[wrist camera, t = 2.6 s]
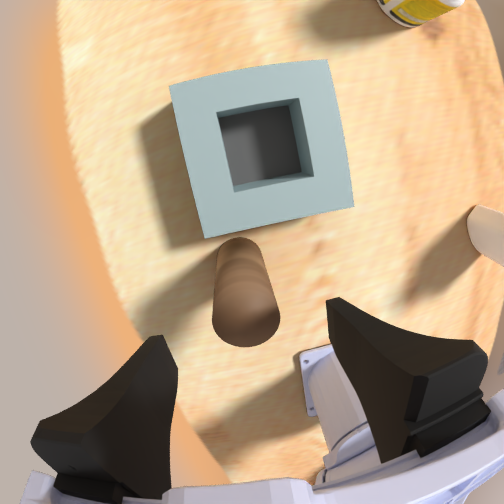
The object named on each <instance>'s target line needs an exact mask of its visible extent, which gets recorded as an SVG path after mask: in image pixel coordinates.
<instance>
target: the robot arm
mask: <svg viewBox="0 0 504 504" xmlns="http://www.w3.org/2000/svg"><path fill="white" fill-rule="evenodd" d="M326 309H327V320H328V332H329V339H330V342H331V344H330V345H327V346H323V347H319V348H316V349H312V350H308V351H304V352H302V353H300V355H299V359H300V366H301V373H302V379H303V386H304V393H305V400H306V407H307V414H308V416H309V417H313V416H317V415H318V418H319V421H320V425H321V428H322V431H323V434H324V437H325V440H326V444H327V447H328V450H329V454H327V455H326V456H324V457H323V461H324V464H325V469H323V470H321V471H320V472H319V473H318V475H317V477H316V482H315V485H312V486H311V485H310V484H309V483H308V482H306V481H305V480H303V479H297V478H289V477H285V478H274V479H265V480H258V481H251V482H243V483H234V484H223V485H209V486H185V487H177V488H171V475H170V431H171V423H172V417H173V411H174V405H175V400H176V394H177V387H178V367H177V365H176V363H175V361H174V359H173V357H172V355H171V352H170V350H169V348H168V346H167V344H166V341H165V339H164V337H163V335H157V336H151V337H149V338H148V339H147V340H146V341H145V342H144V343H143V344H142V345H141V346H140V348H139V349H138V350H137V351H136V352H135V353H134V354H133V355H132V356H131V357H130V359H129V360H128V361H127V362H126V363H125V364H124V365H123V366H122V367H121V368H120V369H119V370H118V371H117V372H116V373H115V374H114V375H113V376H112V377H111V378H110V379H109V380H108V381H107V382H106V383H104V384H103V385H102V386H101V387H99V388H98V389H97V390H96V391H95V392H93V393H92V394H90V395H89V396H87V397H86V398H84V399H83V400H81V401H80V402H78V403H77V404H75V405H73V406H72V407H70V408H68V409H66V410H64V411H62V412H60V413H58V414H55V415H53V416H51V417H48V418H46V419H43V420H41V421H40V422H39V424H38V426H37V428H36V431H35V433H34V435H33V437H32V439H31V445H32V448H33V449H34V451H35V452H36V453H37V454H38V455H39V456H40V457H41V458H42V459H43V460H44V461H45V462H46V463H47V464H48V465H49V466H51V467H52V468H53V469H54V470H55V471H56V472H57V473H58V474H57V477H56V478H55V477H53V476H51V475H48V474H45V473H41V472H38V471H34V470H33V471H31V474H30V477H29V479H28V482H27V485H26V487H25V490H24V493H23V496H22V499H21V502H20V504H463V503H464V502H465V500H466V498H467V496H468V494H469V493H470V492H471V491H473V490H474V489H476V488H477V487H479V486H480V485H481V484H483V483H484V482H486V481H487V480H488V479H490V478H491V477H492V476H493V475H495V474H496V473H497V472H499V471H500V470H501V469H502V468H504V388H503V389H502V390H500V391H499V392H497V393H496V394H495V395H493V396H492V397H491V398H490V399H489V400H488V401H487V402H486V403H484V401H483V400H482V399H481V398H482V397H483V392H482V391H481V390H480V389H479V386H480V383H481V381H482V379H483V376H484V374H485V371H486V368H487V364H488V356H487V354H486V353H485V352H484V351H483V350H482V349H481V348H480V347H479V346H478V345H477V344H476V343H475V342H474V341H473V340H458V339H445V338H437V337H431V336H426V335H422V334H418V333H414V332H410V331H407V330H404V329H401V328H398V327H395V326H393V325H390V324H388V323H386V322H384V321H381V320H379V319H377V318H375V317H373V316H371V315H369V314H368V313H366V312H364V311H362V310H360V309H359V308H357V307H355V306H354V305H352V304H350V303H349V302H347V301H345V300H343V299H342V298H340V297H337V298H333V299H330V300H326ZM305 360H307V361H305ZM311 407H312V408H311Z"/></svg>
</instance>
